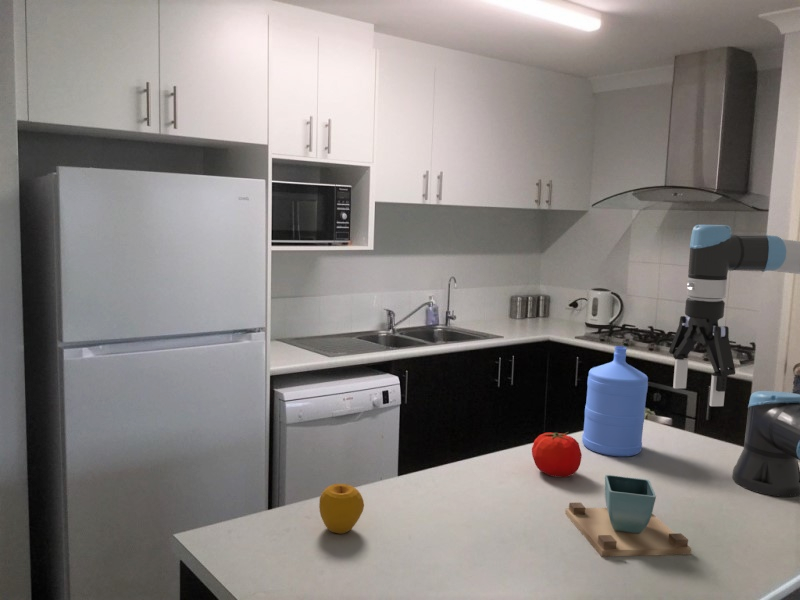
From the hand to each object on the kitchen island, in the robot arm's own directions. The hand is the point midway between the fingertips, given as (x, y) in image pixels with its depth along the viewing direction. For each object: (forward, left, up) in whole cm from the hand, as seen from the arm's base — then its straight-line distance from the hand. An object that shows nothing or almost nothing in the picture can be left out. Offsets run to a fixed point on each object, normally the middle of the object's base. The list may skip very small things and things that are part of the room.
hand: (697, 396), depth 150 cm
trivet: (+19, +10, -26) cm, 33 cm away
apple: (+76, +6, -26) cm, 80 cm away
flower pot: (+19, +10, -25) cm, 33 cm away
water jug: (-1, -39, -26) cm, 47 cm away
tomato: (+22, -21, -26) cm, 40 cm away
